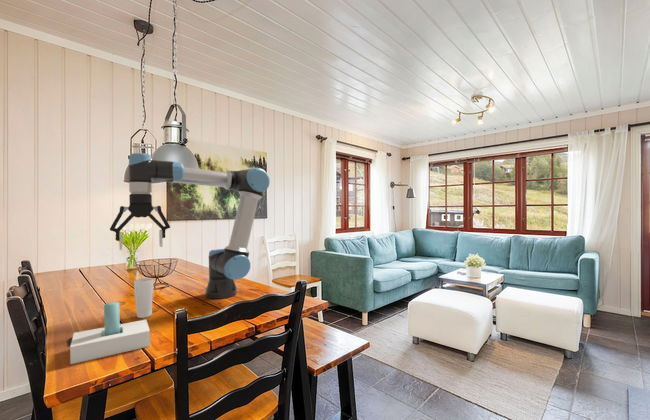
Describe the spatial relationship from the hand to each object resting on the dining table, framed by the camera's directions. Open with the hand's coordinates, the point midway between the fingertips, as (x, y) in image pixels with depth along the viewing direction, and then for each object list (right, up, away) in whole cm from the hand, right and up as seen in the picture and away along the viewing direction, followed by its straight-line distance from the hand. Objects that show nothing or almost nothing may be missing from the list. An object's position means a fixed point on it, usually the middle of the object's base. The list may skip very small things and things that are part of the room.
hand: (141, 247), depth 123 cm
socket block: (+4, -29, -22) cm, 37 cm away
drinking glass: (-2, -29, +5) cm, 29 cm away
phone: (-7, -30, -14) cm, 34 cm away
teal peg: (+4, -29, -22) cm, 37 cm away
